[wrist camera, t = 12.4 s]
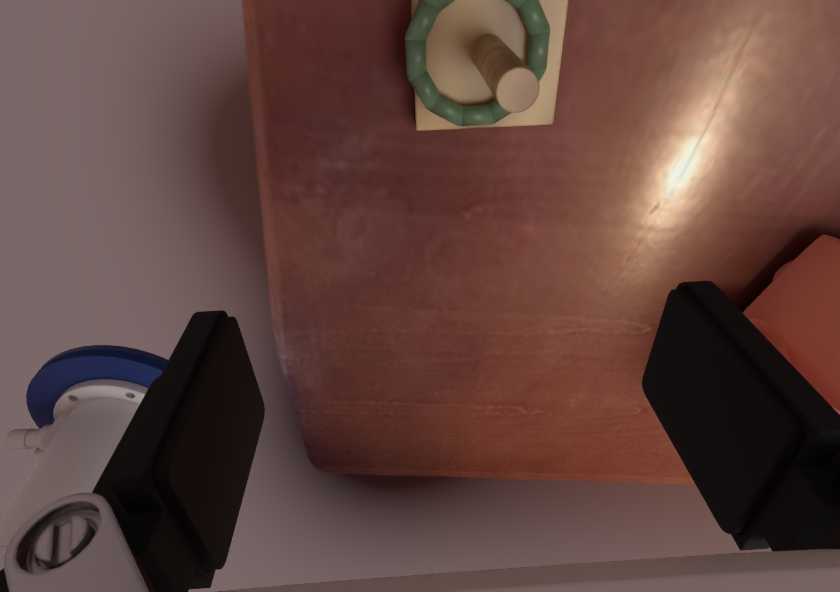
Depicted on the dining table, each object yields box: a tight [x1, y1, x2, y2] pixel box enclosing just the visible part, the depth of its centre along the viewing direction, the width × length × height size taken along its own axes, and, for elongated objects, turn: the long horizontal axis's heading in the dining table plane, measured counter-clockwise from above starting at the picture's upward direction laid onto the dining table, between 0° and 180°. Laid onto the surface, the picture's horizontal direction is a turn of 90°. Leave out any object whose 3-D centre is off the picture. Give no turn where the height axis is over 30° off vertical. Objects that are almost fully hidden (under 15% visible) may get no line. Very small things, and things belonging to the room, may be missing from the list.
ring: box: [405, 0, 550, 126], centre depth 29 cm, size 8×8×1 cm
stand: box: [411, 0, 568, 131], centre depth 27 cm, size 9×9×10 cm
